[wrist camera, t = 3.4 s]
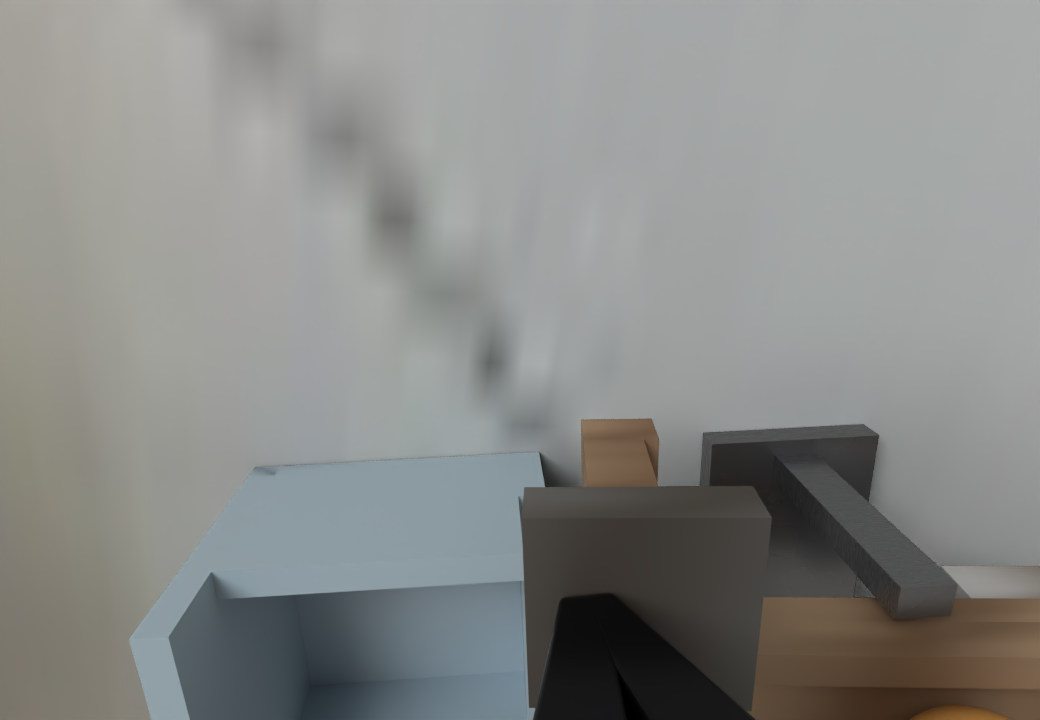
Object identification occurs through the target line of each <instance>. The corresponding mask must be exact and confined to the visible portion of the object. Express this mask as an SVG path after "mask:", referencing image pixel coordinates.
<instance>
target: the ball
mask: <svg viewBox="0 0 1040 720" xmlns="http://www.w3.org/2000/svg"><path fill="white" fill-rule="evenodd" d="M910 720H1012V719H1010V718H1007V717H1005V716H1003V715H1001V714H998V713H995V712H992V711H989V710H986V709H982V708H977V707H972V706H964V705H945V706H940V707H935V708H931V709H929V710H926V711H923V712H921V713H919V714H917V715H916V716H914V717H912V718H911V719H910Z"/></svg>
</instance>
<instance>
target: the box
mask: <svg viewBox="0 0 1040 720" xmlns="http://www.w3.org/2000/svg"><path fill="white" fill-rule="evenodd" d="M524 487H545V484H544V478H543V473H542V467H541V461H540V455H539V452H528V453H509V454H491V455H473V456H454V457H436V458H418V459H399V460H381V461H362V462H344V463H326V464H307V465H289V466H270V467H255V468H254V469H253V471H252V472H251V474H250V475H249V476H248V478H247V479H246V480H245V482H244V483H243V484H242V486H241V487H240V489H239V490H238V491H237V493H236V494H235V495H234V497H233V498H232V499H231V501H230V502H229V504H228V505H227V506H226V508H225V509H224V510H223V512H222V513H221V514H220V516H219V517H218V519H217V520H216V521H215V523H214V524H213V525H212V527H211V528H210V529H209V531H208V532H207V534H206V535H205V536H204V538H203V539H202V540H201V542H200V543H199V544H198V546H197V547H196V549H195V550H194V551H193V553H192V554H191V555H190V557H189V558H188V559H187V561H186V562H185V564H184V565H183V566H182V568H181V569H180V570H179V572H178V573H177V574H176V576H175V577H174V579H173V580H172V581H171V583H170V584H169V585H168V587H167V588H166V589H165V591H164V592H163V594H162V595H161V596H160V598H159V599H158V600H157V602H156V603H155V604H154V606H153V607H152V609H151V610H150V611H149V613H148V614H147V615H146V617H145V618H144V619H143V621H142V622H141V624H140V625H139V626H138V628H137V629H136V630H135V632H134V633H133V634H132V636H131V637H130V639H129V642H130V646H131V649H132V653H133V656H134V660H135V663H136V667H137V670H138V674H139V677H140V681H141V684H142V688H143V691H144V695H145V698H146V702H147V705H148V709H149V712H150V716H151V719H152V720H533V716H534V712H535V708H529V696H528V670H527V645H526V619H525V594H524V568H523V542H522V507H523V496H524Z"/></svg>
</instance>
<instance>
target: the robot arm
mask: <svg viewBox="0 0 1040 720" xmlns="http://www.w3.org/2000/svg"><path fill="white" fill-rule="evenodd" d="M533 720H756V719H755V718H754V717H753V716H751V715H750V714H749V713H748V712H747V711H746V710H745V709H744V708H742V707H741V706H740V705H739V704H738V703H737V702H736V701H734V700H733V699H732V698H731V697H730V696H729V695H728V694H727V693H725V692H724V691H723V690H722V689H721V688H720V687H719V686H717V685H716V684H715V683H714V682H713V681H712V680H711V679H710V678H708V677H707V676H706V675H705V674H704V673H703V672H702V671H701V670H699V669H698V668H697V667H696V666H695V665H694V664H693V663H691V662H690V661H689V660H688V659H687V658H686V657H685V656H684V655H682V654H681V653H680V652H679V651H678V650H677V649H676V648H674V647H673V646H672V645H671V644H670V643H669V642H668V641H667V640H665V639H664V638H663V637H662V636H661V635H660V634H659V633H657V632H656V631H655V630H654V629H653V628H652V627H651V626H650V625H648V624H647V623H646V622H645V621H644V620H643V619H642V618H640V617H639V616H638V615H637V614H636V613H635V612H634V611H633V610H631V609H630V608H629V607H628V606H627V605H626V604H625V603H623V602H622V601H621V600H620V599H619V598H618V597H617V596H615V595H614V594H612V593H599V594H590V595H580V596H571V597H563V598H562V599H561V600H560V601H559V605H558V610H557V614H556V619H555V623H554V627H553V632H552V636H551V641H550V645H549V650H548V654H547V659H546V663H545V667H544V672H543V676H542V681H541V685H540V690H539V694H538V699H537V703H536V708H535V712H534V716H533Z"/></svg>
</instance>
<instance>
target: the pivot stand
mask: <svg viewBox="0 0 1040 720" xmlns="http://www.w3.org/2000/svg"><path fill="white" fill-rule="evenodd" d="M878 438H879V435H878V434H876V433H875V432H874V431H872V430H871V429H869V428H868V427H867V426H865V425H864V424H859V425H840V426H822V427H803V428H784V429H766V430H747V431H729V432H710V433H703V444H702V460H701V476H700V486H753V487H754V488H755V490H756V492H757V494H758V495H759V497H760V499H761V500H762V502H763V504H764V505H765V507H766V509H767V510H768V512H769V514H770V515H771V517H772V522H771V531H770V540H769V550H768V559H767V569H766V578H765V588H764V597H810V598H853V595H854V589H855V582H856V576H857V577H858V578H859V579H860V580H861V581H862V582H863V584H864V585H865V586H866V587H867V588H868V589H869V590H870V592H871V593H872V594H873V595H874V596H875V597H876V598H877V600H878V601H879V602H880V603H881V604H882V605H883V606H884V608H885V609H886V610H887V611H888V612H889V613H890V614H891V616H892V617H893V618H894V619H895V620H897V619H912V618H928V617H943V616H951V612H952V608H953V603H954V599H955V594H956V590H957V585H958V584H957V583H956V582H955V581H954V580H953V579H951V578H950V577H949V576H948V575H947V574H946V573H945V572H944V571H943V570H942V569H941V568H939V567H938V566H937V565H936V564H935V563H934V562H933V561H932V560H931V559H930V558H929V557H927V556H926V555H925V554H924V553H923V552H922V551H921V550H920V549H919V548H918V547H917V546H916V545H914V544H913V543H912V542H911V541H910V540H909V539H908V538H907V537H906V536H905V535H904V534H902V533H901V532H900V531H899V530H898V529H897V528H896V527H895V526H894V525H893V524H892V523H890V522H889V521H888V520H887V519H886V518H885V517H884V516H883V515H882V514H881V513H880V512H878V511H877V510H876V509H875V508H874V507H873V506H872V505H871V504H870V503H869V502H868V501H869V495H870V488H871V482H872V476H873V470H874V463H875V457H876V451H877V445H878Z"/></svg>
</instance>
